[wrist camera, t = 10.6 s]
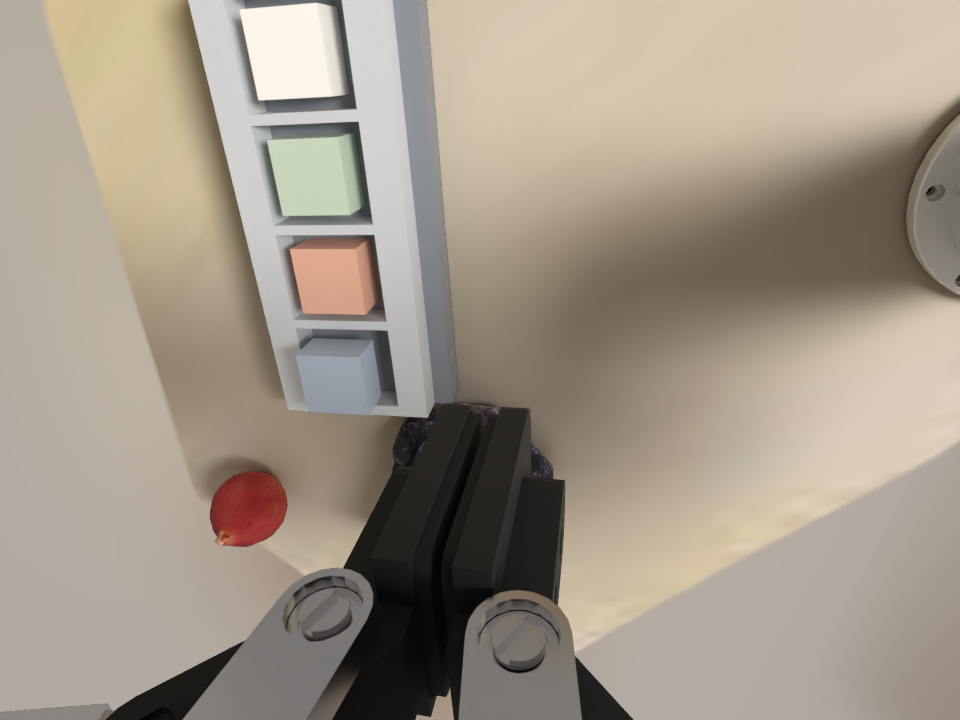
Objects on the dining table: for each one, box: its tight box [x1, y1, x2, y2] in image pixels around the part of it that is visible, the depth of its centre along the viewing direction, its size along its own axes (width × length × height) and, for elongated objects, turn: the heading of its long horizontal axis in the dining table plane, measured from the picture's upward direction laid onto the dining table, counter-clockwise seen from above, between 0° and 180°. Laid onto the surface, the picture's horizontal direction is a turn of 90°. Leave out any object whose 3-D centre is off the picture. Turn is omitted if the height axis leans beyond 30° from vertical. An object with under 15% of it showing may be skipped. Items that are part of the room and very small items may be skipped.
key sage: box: [267, 132, 365, 216], centre depth 33 cm, size 4×4×2 cm
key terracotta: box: [290, 238, 379, 315], centre depth 36 cm, size 4×4×2 cm
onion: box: [210, 471, 288, 547], centre depth 46 cm, size 6×6×8 cm
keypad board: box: [188, 0, 458, 418], centre depth 36 cm, size 13×26×4 cm, turn 3°
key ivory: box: [239, 3, 349, 100], centre depth 30 cm, size 4×4×2 cm
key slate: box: [296, 338, 381, 415], centre depth 37 cm, size 4×4×2 cm
